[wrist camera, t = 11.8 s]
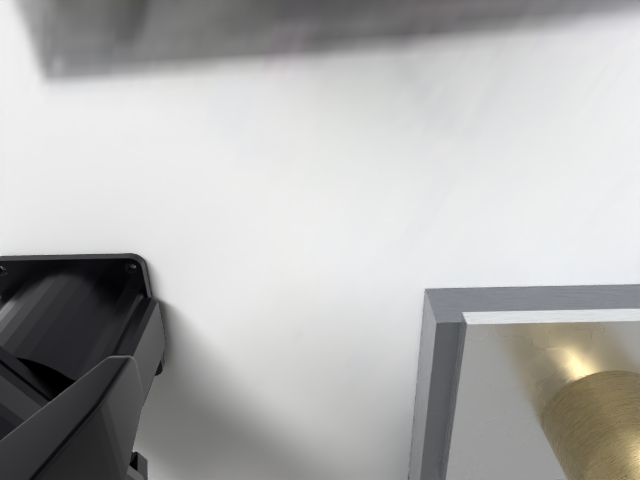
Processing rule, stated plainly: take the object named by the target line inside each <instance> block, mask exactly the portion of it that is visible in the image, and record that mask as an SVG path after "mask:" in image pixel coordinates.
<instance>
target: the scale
mask: <svg viewBox="0 0 640 480" xmlns="http://www.w3.org/2000/svg"><path fill="white" fill-rule="evenodd" d="M612 370H622V371H630V372H634V373H637V374H639V375H640V284H639V285H590V286H541V287H493V288H444V289H425V297H424V308H423V319H422V331H421V342H420V353H419V364H418V375H417V387H416V398H415V409H414V420H413V431H412V443H411V454H410V465H409V476H408V480H567V478H566V476H565V474H564V472H563V470H562V468H561V466H560V464H559V462H558V460H557V458H556V456H555V454H554V452H553V450H552V448H551V446H550V444H549V442H548V440H547V438H546V436H545V434H544V432H543V427H542V420H543V415H544V412H545V410H546V408H547V406H548V404H549V403H550V401H551V400H552V399H553V398H554V397H555V396H556V394H557V393H559V392H560V391H561V390H562V389H563V388H565V387H566V386H568V385H569V384H571V383H572V382H574V381H576V380H578V379H580V378H582V377H585V376H588V375H591V374H594V373H598V372H603V371H612Z"/></svg>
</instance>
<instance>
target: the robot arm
mask: <svg viewBox="0 0 640 480" xmlns="http://www.w3.org/2000/svg"><path fill="white" fill-rule="evenodd" d="M127 263H132V264H134V265H135V266H136V268H135V269H134V268H130V267H129V266H128V264H127ZM0 266H2V267H4V268H5V269H6V270H7V271H4V270H2V269H1V268H0V480H147V459H145V458H144V457H143V456H142V455H140V454H139V453H138V452H134V453H133V452H132V449H133V445H134V440H135V436H136V431H137V427H138V422H139V418H140V413H141V409H142V406H143V405H144V403H145V400H146V397H147V395H148V392H149V389H150V387H151V384H152V381H153V379H154V376H156V375H159V374H161V372H162V370H163V368H164V363H165V362H164V357H163V352H164V349H165V347H166V340H165V334H164V329H163V324H162V319H161V314H160V309H159V304H158V301H157V300H156V299H155V298H154V297H151V292H150V287H149V282H148V277H147V272H146V267H145V263H144V260H143V259H142V258H141V257H140V256H139V255H137V254H132V253H124V254H75V255H26V256H0Z"/></svg>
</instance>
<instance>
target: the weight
mask: <svg viewBox="0 0 640 480" xmlns="http://www.w3.org/2000/svg"><path fill="white" fill-rule="evenodd" d="M542 427H543V432H544V434H545V436H546V438H547V440H548V442H549V444H550V446H551V448H552V450H553V452H554V454H555V456H556V458H557V460H558V462H559V464H560V466H561V468H562V470H563V472H564V474H565V476H566V478H567V480H640V375H639V374H637V373H634V372H630V371H622V370H612V371H603V372H598V373H594V374H591V375H588V376H585V377H582V378H580V379H578V380H576V381H574V382H572V383H571V384H569V385H568V386H566V387H565V388H563V389H562V390H561V391H560V392H559V393H557V394H556V396H555V397H554V398H553V399H552V400H551V401H550V403H549V404H548V406H547V408H546V410H545V412H544V415H543V420H542Z"/></svg>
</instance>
